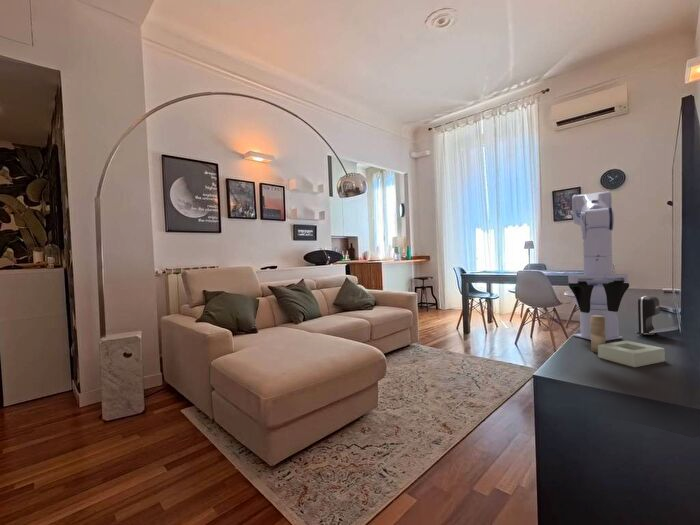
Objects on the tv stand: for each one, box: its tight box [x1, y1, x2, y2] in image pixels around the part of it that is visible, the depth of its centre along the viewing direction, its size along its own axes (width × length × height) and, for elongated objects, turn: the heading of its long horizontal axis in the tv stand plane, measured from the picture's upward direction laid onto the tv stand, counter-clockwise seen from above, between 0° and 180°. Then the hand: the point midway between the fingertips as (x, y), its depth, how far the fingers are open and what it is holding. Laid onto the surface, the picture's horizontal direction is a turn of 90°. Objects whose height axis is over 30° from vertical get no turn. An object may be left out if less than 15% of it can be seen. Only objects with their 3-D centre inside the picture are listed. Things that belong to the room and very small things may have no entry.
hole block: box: [597, 340, 666, 368], centre depth 79 cm, size 10×8×3 cm
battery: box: [637, 295, 661, 335], centre depth 100 cm, size 7×4×11 cm, turn 126°
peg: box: [590, 315, 606, 353], centre depth 86 cm, size 3×3×9 cm
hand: (599, 311), depth 83 cm, fingers open, 7 cm apart
